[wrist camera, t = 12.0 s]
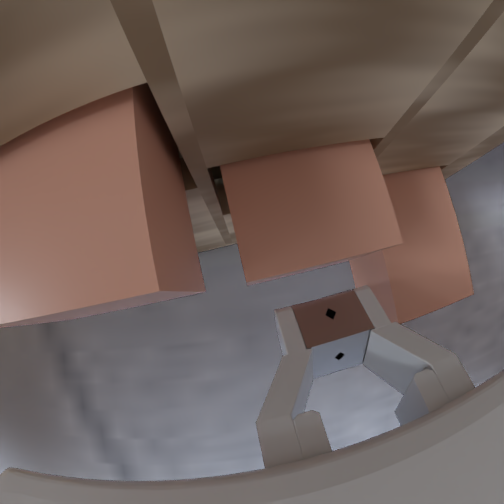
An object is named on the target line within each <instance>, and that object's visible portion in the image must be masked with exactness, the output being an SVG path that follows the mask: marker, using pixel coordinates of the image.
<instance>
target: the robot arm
mask: <svg viewBox="0 0 504 504" xmlns="http://www.w3.org/2000/svg"><path fill="white" fill-rule="evenodd" d="M274 315H275V321H276V327H277V333H278V337H279V342H280V347H281V350H282V354H283V356H282V359H281V361H280V364H279V367H278V369H277V372H276V374H275V377H274V379H273V382H272V384H271V387H270V389H269V392H268V394H267V397H266V399H265V402H264V404H263V407H262V409H261V411H260V414H259V416H258V419H257V421H256V426H257V431H258V436H259V441H260V446H261V451H262V456H263V461H264V466H265V468H264V469H259V470H254V471H248V472H242V473H236V474H229V475H222V476H214V477H205V478H195V479H182V480H164V481H113V480H95V479H83V478H74V477H65V476H58V475H51V474H45V473H39V472H33V471H28V470H23V469H19V468H10V467H9V468H7V469H5V470H4V471H3V472H2V473H1V474H0V504H504V370H502V371H501V372H499V373H498V374H496V375H495V376H493V377H492V378H490V379H489V380H487V381H485V382H484V383H482V384H481V385H479V386H477V387H476V388H475V387H474V385H473V383H472V381H471V380H470V378H469V376H468V374H467V373H466V371H465V369H464V367H463V366H462V364H461V362H460V361H459V359H458V357H457V356H456V354H455V353H453V352H451V351H449V350H447V349H445V348H443V347H442V346H440V345H438V344H436V343H434V342H432V341H431V340H429V339H427V338H425V337H423V336H421V335H419V334H418V333H416V332H414V331H412V330H410V329H408V328H406V327H405V326H403V325H401V324H399V323H397V322H393V323H391V321H390V320H389V318H388V316H387V315H386V313H385V311H384V310H383V308H382V306H381V305H380V303H379V301H378V300H377V298H376V297H375V295H374V293H373V292H372V290H371V289H370V287H369V286H367V285H365V286H362V287H358V288H355V289H352V290H347V291H344V292H340V293H337V294H334V295H330V296H327V297H323V298H321V299H318V300H313V301H309V302H305V303H301V304H296V305H292V306H288V307H284V308H280V309H276V310H274ZM360 364H363V365H364V366H365V367H367V368H368V369H369V370H371V371H372V372H373V373H375V374H376V375H377V376H379V377H380V378H381V379H383V380H384V381H385V382H387V383H388V384H389V385H391V386H392V387H393V388H395V389H396V390H397V391H399V392H400V393H401V394H403V395H404V396H403V397H402V399H401V401H400V403H399V404H398V406H397V408H396V410H395V414H396V416H397V419H398V421H399V423H400V427H397V428H395V429H393V430H390V431H388V432H385V433H383V434H380V435H378V436H375V437H372V438H370V439H367V440H364V441H362V442H359V443H356V444H353V445H350V446H347V447H344V448H341V449H338V450H335V451H332V450H331V447H330V444H329V441H328V438H327V434H326V431H325V428H324V425H323V422H322V419H321V417H320V414H319V413H318V412H316V411H313V410H312V411H308V412H305V413H304V410H305V407H306V403H307V400H308V397H309V393H310V390H311V386H312V382H313V379H315V378H318V377H321V376H325V375H328V374H331V373H334V372H337V371H340V370H343V369H347V368H350V367H354V366H357V365H360Z"/></svg>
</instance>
